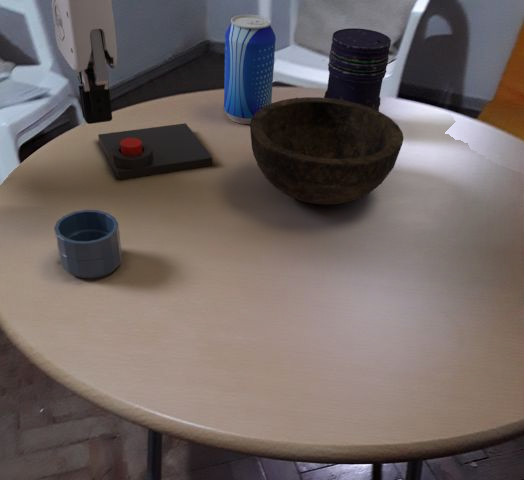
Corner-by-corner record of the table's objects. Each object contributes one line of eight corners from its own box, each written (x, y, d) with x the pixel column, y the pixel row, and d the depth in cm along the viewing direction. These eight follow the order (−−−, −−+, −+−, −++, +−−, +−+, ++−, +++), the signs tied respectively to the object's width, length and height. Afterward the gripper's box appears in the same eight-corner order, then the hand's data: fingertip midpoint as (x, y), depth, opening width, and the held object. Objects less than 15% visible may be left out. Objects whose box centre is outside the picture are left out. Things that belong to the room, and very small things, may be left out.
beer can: (254, 130, 110) (259, 32, 99) (214, 117, 113) (215, 20, 102) (278, 115, 115) (286, 20, 104) (240, 102, 118) (243, 9, 107)
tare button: (124, 158, 94) (123, 148, 93) (118, 148, 96) (117, 139, 95) (145, 155, 95) (144, 145, 94) (139, 146, 97) (138, 136, 96)
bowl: (276, 146, 106) (280, 86, 99) (402, 176, 101) (417, 115, 94) (224, 207, 91) (225, 142, 84) (370, 245, 86) (384, 179, 79)
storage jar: (312, 129, 111) (322, 39, 101) (332, 110, 118) (344, 24, 108) (365, 143, 109) (381, 52, 98) (382, 122, 115) (399, 35, 105)
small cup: (68, 286, 76) (61, 248, 72) (56, 252, 81) (49, 215, 77) (128, 274, 78) (124, 236, 74) (114, 242, 83) (109, 205, 79)
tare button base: (119, 180, 95) (116, 161, 93) (98, 142, 103) (96, 124, 101) (212, 165, 100) (212, 147, 98) (185, 130, 108) (185, 113, 106)
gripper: (23, -71, 67) (53, 100, 80) (54, -36, 58) (82, 151, 71) (92, -73, 70) (111, 92, 83) (133, -40, 60) (146, 141, 73)
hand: (97, 119), depth 77 cm, fingers closed
